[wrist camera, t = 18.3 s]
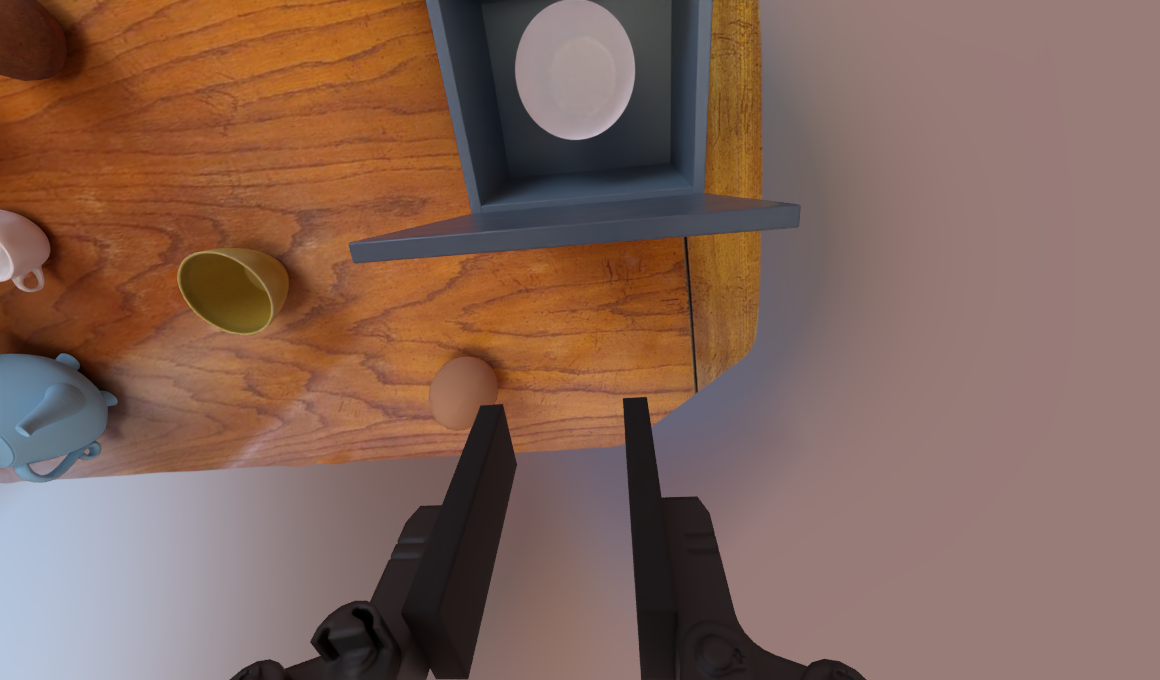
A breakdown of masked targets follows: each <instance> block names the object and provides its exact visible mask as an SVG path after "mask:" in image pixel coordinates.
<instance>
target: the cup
mask: <svg viewBox="0 0 1160 680" xmlns="http://www.w3.org/2000/svg"><path fill="white" fill-rule="evenodd" d="M515 77H516V84H517V88H518V92H519V95H520V98H521V101H522V103H523V105H524V107H525V109H526V110H527V112H528V113H529V115H530V116H531V117H532V119H533V120H534V121H535V122H536V123H537V124H538V125H539V126H540V127H541V128H543V129H544V130H545V131H547V132H549V133H550V134H553V135H555V136H557V137H560V138H564V139H570V140H581V139H587V138H591V137H594V136H596V135H598V134H600V133H602V132H604V131H605V130H607V129H608V128H609V127H610V126H612V125H613V124H614V123H615V122H616V121H617V120H618V118H619V117H620V116H621V115H622V113H623V112H624V110H625V108H626V106H627V105H628V102H629V100H630V97H631V94H632V91H633V87H634V80H635V61H634V54H633V50H632V46H631V43H630V40H629V38H628V36H627V34H626V32H625V30H624V28H623V27H622V25H621V24H620V22H619V21H618V20H617V19H616V18H615V17H614V16H613V15H612V14H611V13H610V12H609V11H608V10H606V9H605V8H603V7H602V6H600V5H598V4H596V3H593V2H591V1H587V0H563V1H559V2H556V3H554V4H552V5H550V6H548V7H546V8H545V9H543V10H542V11H541V12H540V13H538V14H537V15H536V16H535V17H534V18H533V20H532V21H531V22H530V23H529V25H528V26H527V28H526V30H525V31H524V33H523V35H522V38H521V40H520V43H519V46H518V50H517V54H516V62H515Z"/></svg>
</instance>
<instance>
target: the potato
mask: <svg viewBox="0 0 1160 680" xmlns="http://www.w3.org/2000/svg"><path fill="white" fill-rule="evenodd" d="M66 54H67V45H66V38H65V35H64V32H63V30H62V28H61V26H60V25H59V23H58V22H57V20H56V19H55V18H54V16H53V15H51V14H50V13H49V12H48V11H47V10H46V9H45V8H44V7H43V6H42V5H41V4H39V3H38V2H36V1H34V0H0V75H3V76H7V77H11V78H15V79H19V80H24V81H28V80H41V79H46V78H49V77H51V76H53V75H54V74H56V73H57V72H59V71H60V70H61V69H62V67H63V64H64V62H65V59H66Z"/></svg>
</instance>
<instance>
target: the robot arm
mask: <svg viewBox="0 0 1160 680" xmlns="http://www.w3.org/2000/svg"><path fill="white" fill-rule="evenodd" d="M623 408H624V425H625V441H626V458H627V473H628V488H629V503H630V517H631V533H632V547H633V563H634V577H635V593H636V608H637V622H638V636H639V651H640V666H641V680H866V679H865V678H864V677H863V676H862V675H861V674H860V673H859V672H857V671H856V670H855V669H853V668H851V667H849V666H847V665H845V664H844V663H841V662H840V661H834V660H828V659H822V660H819V661H815V662H812V663H811V664H810V665H809V666H808V667H807V666H804V665H802V664H799V663H796V662H793V661H791V660H787V659H785V658H782V657H779V656H776V655H774V654H772V653H770V652H768V651H765V650H764V649H762V648H761V647H760V646H758V645H757V644H756V643H754V642H753V641H752V640H751V639H750V638H749V637H748V635H747V634H745V633H744V631H743V629H742V627H741V626H740V624H739V622H738V620H737V617H736V615H735V611H734V608H733V604H732V600H731V596H730V592H729V588H728V584H727V580H726V576H725V572H724V568H723V564H722V560H721V556H720V553H719V550H718V545H717V541H716V537H715V534H714V529H713V525H712V521H711V517H710V513H709V512H708V510H707V509H706V508H705V506H704V505H703V504H702V502H701V501H700V500H699V498H698V497H669V498H667V497H666V498H661V491H660V484H659V478H658V470H657V464H656V458H655V450H654V444H653V436H652V431H651V430H652V429H651V422H650V416H649V409H648V402H647V397H639V398H623ZM516 466H517V463H516V459H515V454H514V450H513V446H512V441H511V437H510V433H509V428H508V424H507V420H506V415H505V411H504V407H503V404H499V405H480V408H479V410H478V413H477V416H476V418H475V421H474V423H473V426H472V429H471V431H470V434H469V436H468V439H467V442H466V444H465V447H464V449H463V452H462V455H461V457H460V460H459V462H458V465H457V468H456V470H455V473H454V476H453V478H452V481H451V483H450V486H449V489H448V491H447V494H446V496H445V499H444V501H443V504H442V505H439V506H420V507H419V508H418V509H417V511H416V512H415V513H414V514H413V515H412V516H411V517H410V518H409V519H408V521H407V522H406V523H405V526H404V528H403V530H402V532H401V534H400V537H399V539H398V544H396V546H395V548H394V550H393V552H392V554H391V559H390V560H389V561H388V564H387V565H386V568H385V570H384V572H383V574H382V577H381V579H380V581H379V583H378V585H377V588H376V590H375V592H374V594H373V596H372V599H371V601H370V602H368V601H354V602H351V603H348V604H346V605H343V606H341V607H340V608H338V609H337V610H335V611H334V612H333V613H331V614H330V615H328V617H327V618H326V619H325V620H324V621H323V622H322V624H321V625H320V626H319V627H318V628H317V630H316V632H315V634H314V636H313V638H312V639H311V644H312V645H313V646H314V647H315V649H316V650H317V652H318V653H319V654H320V655H321V656H319V657H316V658H314V659H311V660H308V661H305V662H302V663H300V664H297V665H294V666H291V667H289V668H286V669H284V668H283V667H282V665H281V664H280V663H278V662H276V661H273V660H270V659H269V660H264V661H257V662H255V663H253V664H251V665H250V666H247V667H245V668H244V669H242V670H241V671H240V672H238V673H237V674H236V675H235V676H234V677H232V678H231V679H230V680H426V679H427V676H428V672H429V669H431V670H432V672H433V674H434V676H435V678H436V679H468V678H469V673H470V669H471V664H472V660H473V655H474V651H475V647H476V643H477V638H478V634H479V629H480V625H481V620H482V616H483V612H484V607H485V602H486V598H487V594H488V590H489V585H490V581H491V576H492V572H493V568H494V563H495V559H496V554H497V549H498V545H499V541H500V537H501V532H502V528H503V523H504V519H505V515H506V510H507V506H508V501H509V497H510V492H511V488H512V484H513V479H514V475H515V470H516Z"/></svg>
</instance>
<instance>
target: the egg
mask: <svg viewBox="0 0 1160 680" xmlns="http://www.w3.org/2000/svg"><path fill="white" fill-rule="evenodd" d="M497 394H498V382H497V378H496V375H495V373H494V371H493V369H492V368H491V367H490V366H489V365H488V364H487V363H486V362H485V361H483V360H481V359H478V358H475V357H470V356H465V357H458V358H455V359H453V360H451V361H449V362H448V363H446V364H444V365H443V367H442V368H441V369H440V370H439V371H438V372H437V373H436V375H435V377H434V379H433V381H432V384H431V387H430V392H429V400H430V408H431V411H432V414H433V416H434V417H435V419H436V420H437V422H438V423H439V424H440V425H442V426H444V427H445V428H447V429H450V430H456V431H458V430H465V429H468V428H471V427H472V426H473V423H474V421H475V418H476V416H477V413H478V410H479V408H480V405H494V404H495V401H496V399H497Z"/></svg>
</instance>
